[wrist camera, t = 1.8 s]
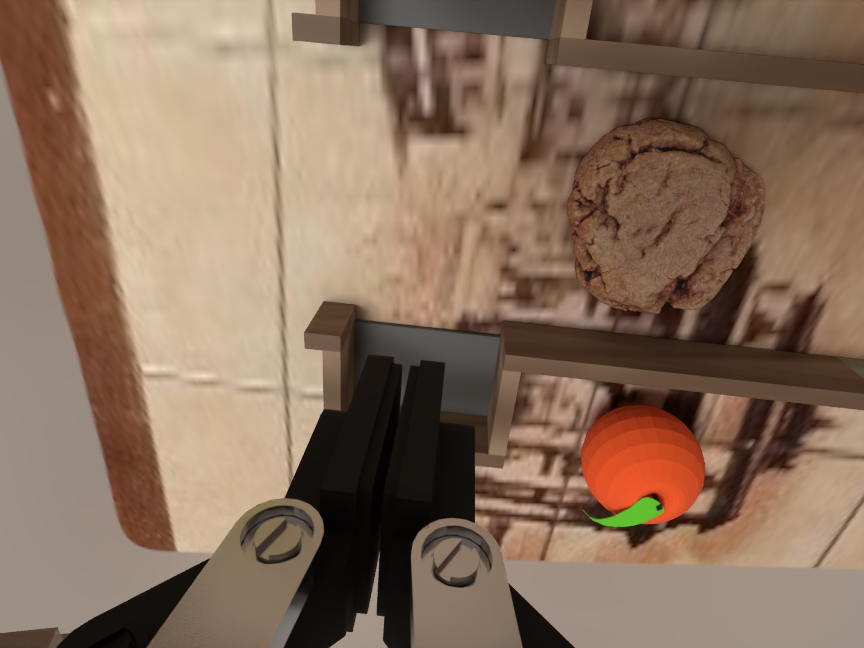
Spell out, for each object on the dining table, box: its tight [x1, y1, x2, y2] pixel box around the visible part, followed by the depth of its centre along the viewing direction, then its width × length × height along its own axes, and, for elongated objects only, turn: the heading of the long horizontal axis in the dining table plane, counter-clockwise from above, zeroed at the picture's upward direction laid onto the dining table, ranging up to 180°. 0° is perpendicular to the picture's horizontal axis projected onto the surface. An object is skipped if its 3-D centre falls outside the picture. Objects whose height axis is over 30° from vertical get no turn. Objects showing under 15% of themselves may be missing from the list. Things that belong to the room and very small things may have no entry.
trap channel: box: [292, 0, 864, 468], centre depth 25 cm, size 30×43×6 cm
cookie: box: [567, 118, 765, 314], centre depth 27 cm, size 10×11×3 cm
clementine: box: [581, 405, 705, 527], centre depth 31 cm, size 8×7×7 cm
